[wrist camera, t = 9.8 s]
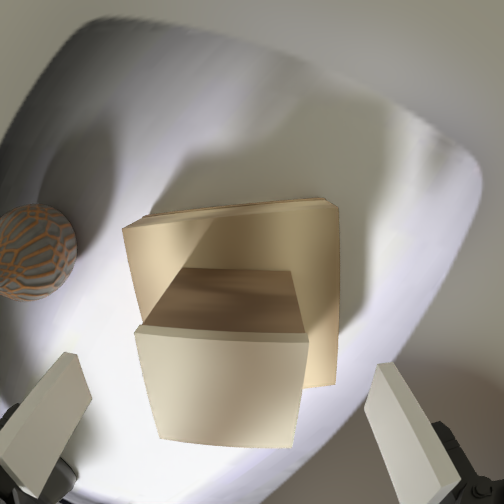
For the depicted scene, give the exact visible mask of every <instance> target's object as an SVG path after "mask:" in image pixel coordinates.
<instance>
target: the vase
mask: <svg viewBox="0 0 504 504" xmlns="http://www.w3.org/2000/svg"><path fill="white" fill-rule="evenodd" d="M76 256H77V242H76V237H75V233H74V230H73V228H72V226H71V224H70V223H69V221H68V220H67V219H66V217H65V216H64V215H63V214H62V213H61V212H59V211H58V210H56V209H54V208H52V207H50V206H47V205H43V204H27V205H23V206H19V207H17V208H14V209H12V210H11V211H9V212H8V213H6V214H5V215H4V216H2V217H1V218H0V295H3V296H5V297H7V298H10V299H13V300H16V301H21V302H30V301H35V300H39V299H42V298H45V297H47V296H49V295H50V294H52V293H53V292H55V291H56V290H57V289H58V288H59V287H60V286H61V285H63V283H64V282H65V281H66V280H67V278H68V277H69V275H70V273H71V271H72V269H73V267H74V264H75V261H76Z"/></svg>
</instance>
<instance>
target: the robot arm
mask: <svg viewBox="0 0 504 504" xmlns="http://www.w3.org/2000/svg"><path fill="white" fill-rule="evenodd" d="M91 400H92V396H91V394H90V391H89V388H88V386H87V383H86V380H85V377H84V374H83V371H82V368H81V365H80V362H79V359H78V356H77V354H72V353H67V352H64V353H63V354H62V355H61V356H60V357H59V359H58V360H57V361H56V362H55V363H54V364H53V366H52V367H51V368H50V369H49V370H48V371H47V373H46V374H45V375H44V376H43V377H42V379H41V380H40V381H39V382H38V383H37V385H36V386H35V387H34V388H33V390H32V391H31V392H30V393H29V395H28V396H27V397H26V398H25V400H24V401H23V402H22V403H21V404H18V403H17V404H15V405H14V406H12V407H11V408H9V409H8V410H7V412H6V413H5V414H4V415H3V418H1V419H0V504H56V503H57V502H58V501H60V500H61V499H62V498H63V497H64V496H65V495H66V494H67V493H68V492H70V491H71V490H72V489H73V487H74V485H75V482H76V476H75V474H74V472H73V471H72V470H71V468H70V467H69V466H68V465H67V464H66V463H65V462H64V461H63V460H62V459H61V458H60V455H61V453H62V451H63V449H64V447H65V446H66V444H67V442H68V440H69V438H70V437H71V435H72V433H73V431H74V430H75V428H76V426H77V424H78V423H79V421H80V419H81V417H82V416H83V414H84V412H85V411H86V409H87V407H88V405H89V404H90V402H91ZM364 411H365V413H366V415H367V418H368V420H369V423H370V425H371V428H372V430H373V433H374V436H375V438H376V440H377V443H378V446H379V448H380V451H381V454H382V456H383V459H384V461H385V464H386V467H387V469H388V472H389V474H390V477H391V480H392V483H393V486H394V488H395V491H396V494H397V497H398V500H399V502H400V504H504V479H503V480H497V481H491V480H490V479H489V478H487V477H485V476H478V475H477V473H476V472H475V470H474V469H473V467H472V465H471V463H470V462H469V460H468V458H467V457H466V455H465V453H464V452H463V450H462V449H461V447H460V445H459V443H458V442H457V440H455V437H454V435H453V434H452V432H451V430H450V429H449V428H448V427H447V426H445V425H444V424H443V423H442V422H441V421H439V422H435V423H431V424H430V422H429V420H428V419H427V417H426V415H425V414H424V412H423V410H422V408H421V407H420V405H419V404H418V402H417V400H416V398H415V397H414V395H413V394H412V392H411V390H410V389H409V387H408V386H407V384H406V382H405V381H404V379H403V377H402V376H401V374H400V373H399V371H398V369H397V368H396V367H395V365H394V363H393V362H390V363H381V364H377V367H376V370H375V374H374V378H373V381H372V384H371V388H370V391H369V394H368V398H367V401H366V404H365V407H364Z"/></svg>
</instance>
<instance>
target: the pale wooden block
mask: <svg viewBox="0 0 504 504" xmlns="http://www.w3.org/2000/svg"><path fill="white" fill-rule="evenodd" d="M134 335H135V340H136V345H137V350H138V355H139V360H140V365H141V369H142V374H143V378H144V382H145V386H146V390H147V394H148V398H149V402H150V406H151V410H152V413H153V417H154V420H155V424H156V427H157V431H158V434H159V437H160V439H166V440H172V441H179V442H186V443H194V444H203V445H214V446H226V447H243V448H292V444H293V439H294V434H295V429H296V424H297V418H298V412H299V407H300V401H301V395H302V389H303V383H304V376H305V370H306V363H307V356H308V349H309V339H308V335H307V333H305V329H304V325H303V321H302V316H301V312H300V308H299V304H298V299H297V295H296V291H295V287H294V283H293V279H292V275H291V271H270V270H237V269H208V268H181V269H180V271H179V272H178V274H177V275H176V276H175V278H174V279H173V281H172V282H171V283H170V285H169V286H168V288H167V289H166V291H165V292H164V293H163V295H162V296H161V298H160V299H159V301H158V302H157V303H156V305H155V306H154V308H153V309H152V311H151V312H150V314H149V315H148V317H147V318H146V319H145V321H144V322H143V324H142V325H139V326H138V328H137V329H136V331H135V332H134Z"/></svg>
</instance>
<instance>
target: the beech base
mask: <svg viewBox="0 0 504 504" xmlns="http://www.w3.org/2000/svg"><path fill="white" fill-rule="evenodd" d="M122 232H123V237H124V243H125V248H126V253H127V258H128V263H129V267H130V272H131V276H132V281H133V285H134V289H135V293H136V297H137V301H138V305H139V309H140V313H141V317H142V321H143V322H144V321H145V319H146V318H147V317H148V315H149V314H150V312H151V311H152V309H153V308H154V306H155V305H156V303H157V302H158V301H159V299H160V298H161V296H162V295H163V293H164V292H165V291H166V289H167V288H168V286H169V285H170V283H171V282H172V281H173V279H174V278H175V276H176V275H177V274H178V272H179V271H180V269H181V268H208V269H237V270H270V271H291V275H292V279H293V283H294V287H295V291H296V295H297V299H298V304H299V308H300V312H301V316H302V321H303V325H304V329H305V333H307V335H308V339H309V349H308V356H307V363H306V370H305V376H304V383H303V389H304V388H313V387H321V386H328V385H335V383H336V369H337V354H338V334H339V304H340V239H339V208H338V207H337V206H335V205H333V204H332V203H330V202H328V201H326V199H325V198H307V199H293V200H281V201H269V202H257V203H247V204H236V205H226V206H217V207H208V208H199V209H190V210H182V211H173V212H165V213H158V214H150V215H145V216H143V217H142V218H141V219H139V220H137V221H136V222H134V223H132V224H130V225H128V226H126V227H124V228H122Z"/></svg>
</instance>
